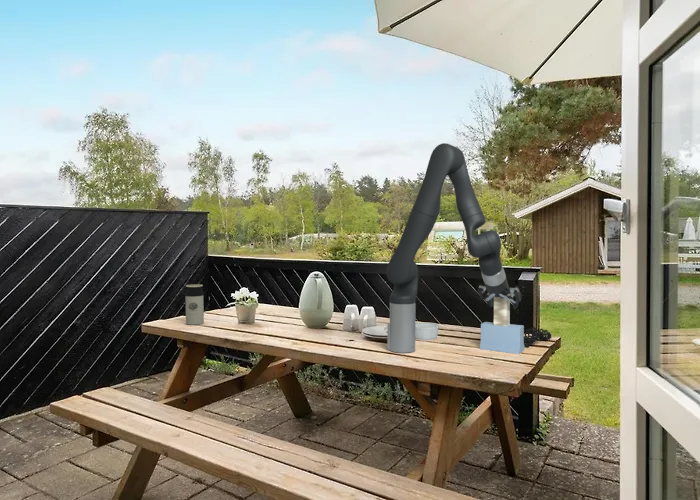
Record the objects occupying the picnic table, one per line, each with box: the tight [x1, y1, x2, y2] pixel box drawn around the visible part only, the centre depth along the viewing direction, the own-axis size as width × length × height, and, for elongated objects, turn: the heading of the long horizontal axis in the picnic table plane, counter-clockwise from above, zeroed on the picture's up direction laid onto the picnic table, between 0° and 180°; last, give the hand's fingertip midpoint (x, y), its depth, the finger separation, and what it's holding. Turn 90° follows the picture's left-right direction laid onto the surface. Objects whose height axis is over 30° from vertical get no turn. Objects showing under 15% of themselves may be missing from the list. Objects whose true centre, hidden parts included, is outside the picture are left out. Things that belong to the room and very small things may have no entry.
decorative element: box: [524, 326, 552, 349], centre depth 191 cm, size 22×5×6 cm, turn 133°
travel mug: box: [184, 283, 205, 326], centre depth 233 cm, size 8×8×18 cm
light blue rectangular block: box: [479, 321, 525, 355], centre depth 181 cm, size 14×7×9 cm, turn 57°
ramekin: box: [415, 321, 440, 341], centre depth 202 cm, size 11×11×5 cm
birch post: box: [493, 295, 511, 326], centre depth 181 cm, size 4×4×11 cm
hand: (503, 305), depth 182 cm, fingers open, 8 cm apart
